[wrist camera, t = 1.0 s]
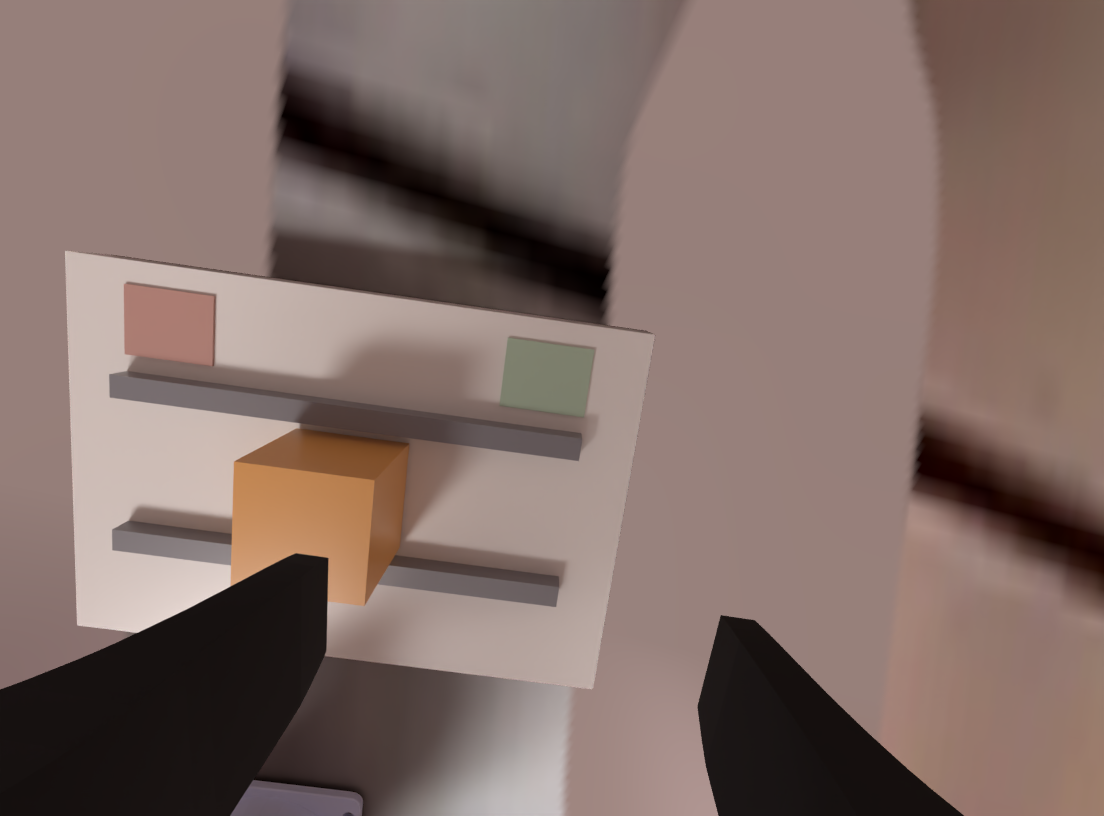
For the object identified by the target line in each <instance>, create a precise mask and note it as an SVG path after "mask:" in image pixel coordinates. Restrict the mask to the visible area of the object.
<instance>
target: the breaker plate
mask: <svg viewBox="0 0 1104 816" xmlns="http://www.w3.org/2000/svg"><path fill="white" fill-rule="evenodd" d="M65 264H66V293H67V294H66V295H67V323H68V324H67V326H68V356H69V386H70V387H69V388H70V416H71V417H70V418H71V447H72V478H73V479H72V480H73V510H74V539H75V540H74V541H75V568H76V569H75V570H76V571H75V572H76V601H77V625H80V626H87V627H96V628H103V629H111V630H119V631H127V632H135V633H138V632H140V631H142V630H144V629H146V628H149V627H151V626H153V625H155V624H157V623H159V622H161V621H163V620H165V619H167V618H170V617H172V616H174V615H176V614H178V613H180V612H182V611H184V610H186V609H188V608H190V607H192V606H194V605H196V604H198V603H200V602H202V601H204V600H205V599H207V598H209V597H211V596H213V595H215V594H217V593H219V592H221V591H223V590H225V589H227V588H228V587H230V583H231V547H232V511H233V475H234V461H236V460H238V459H240V458H241V457H243V456H245V455H247V454H249V453H251V452H253V451H255V450H256V449H258V448H260V447H262V446H264V445H266V444H268V443H270V442H272V441H273V440H275V439H277V438H279V437H281V436H283V435H285V434H287V433H289V432H290V431H292V430H294V429H296V428H299V429H306V430H314V431H321V432H329V433H336V434H343V435H351V436H358V437H365V438H373V439H380V440H388V441H395V442H402V443H409V454H408V465H407V476H406V486H405V497H404V508H403V519H402V530H401V540H400V548H399V549H398V551H397V553H396V554H395V556H394V558H393V559H392V561H391V563H390V564H389V566H388V568H387V569H386V571H385V573H384V574H383V576H382V578H381V579H380V581H379V583H378V584H377V586H376V588H375V589H374V591H373V593H372V594H371V596H370V598H369V599H368V601H367V603H366V604H365V606H359V605H351V604H344V603H336V602H328V606H327V650H326V653H325V656H328V657H336V658H344V659H352V660H360V661H368V662H376V663H384V664H393V665H401V666H409V667H417V668H425V669H433V670H441V671H449V672H457V673H465V674H473V675H481V676H489V677H497V678H505V679H513V680H521V681H529V682H537V683H545V684H553V685H561V686H569V687H577V688H585V689H593V685H594V679H595V673H596V668H597V662H598V657H599V651H600V645H601V639H602V634H603V628H604V623H605V617H606V611H607V605H608V600H609V594H610V589H611V583H612V577H613V572H614V566H615V560H616V554H617V549H618V543H619V538H620V531H621V526H622V520H623V515H624V510H625V504H626V498H627V492H628V487H629V481H630V475H631V470H632V464H633V458H634V453H635V447H636V441H637V436H638V430H639V424H640V419H641V413H642V407H643V402H644V396H645V391H646V385H647V379H648V373H649V368H650V362H651V357H652V351H653V345H654V340H655V334H652V333H650V332H647V331H643V330H636V329H629V328H622V327H615V326H608V325H601V324H594V323H587V322H580V321H573V320H566V319H559V318H552V317H545V316H538V315H531V314H524V313H517V312H510V311H503V310H496V309H489V308H482V307H475V306H468V305H461V304H454V303H447V302H440V301H433V300H426V299H419V298H412V297H405V296H398V295H391V294H384V293H376V292H369V291H362V290H355V289H348V288H341V287H334V286H327V285H320V284H313V283H306V282H299V281H292V280H285V279H278V278H271V277H264V276H257V275H250V274H243V273H236V272H229V271H222V270H215V269H208V268H201V267H193V266H187V265H180V264H173V263H166V262H158V261H152V260H145V259H138V258H131V257H124V256H117V255H108V254H97V253H85V252H74V251H65Z"/></svg>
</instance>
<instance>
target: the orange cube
mask: <svg viewBox="0 0 1104 816" xmlns="http://www.w3.org/2000/svg"><path fill="white" fill-rule="evenodd" d="M408 454H409V443H402V442H395V441H388V440H380V439H373V438H365V437H358V436H351V435H343V434H336V433H329V432H321V431H314V430H306V429H299V428H296V429H294V430H292V431H290V432H289V433H287V434H285V435H283V436H281V437H279V438H277V439H275V440H273V441H272V442H270V443H268V444H266V445H264V446H262V447H260V448H258V449H256V450H255V451H253V452H251V453H249V454H247V455H245V456H243V457H241V458H240V459H238V460H236V461H234V475H233V511H232V547H231V583H230V586H232V585H234V584H236V583H238V582H240V581H242V580H244V579H246V578H247V577H249V576H251V575H253V574H255V573H257V572H259V571H261V570H263V569H264V568H266V567H268V566H270V565H272V564H274V563H276V562H278V561H280V560H282V559H284V558H286V557H288V556H291V555H293V554H295V553H299V554H305V555H312V556H319V557H326V558H329V561H328V602H336V603H344V604H351V605H359V606H365V604H366V603H367V601H368V599H369V598H370V596H371V594H372V593H373V591H374V589H375V588H376V586H377V584H378V583H379V581H380V579H381V578H382V576H383V574H384V573H385V571H386V569H387V568H388V566H389V564H390V563H391V561H392V559H393V558H394V556H395V554H396V553H397V551H398V549H399V548H400V540H401V530H402V519H403V508H404V497H405V486H406V476H407V465H408Z"/></svg>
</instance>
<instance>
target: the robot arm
mask: <svg viewBox="0 0 1104 816" xmlns="http://www.w3.org/2000/svg"><path fill="white" fill-rule="evenodd" d="M328 561H329V558H326V557H319V556H312V555H305V554H299V553H295V554H293V555H291V556H288V557H286V558H284V559H282V560H280V561H278V562H276V563H274V564H272V565H270V566H268V567H266V568H264V569H263V570H261V571H259V572H257V573H255V574H253V575H251V576H249V577H247V578H246V579H244V580H242V581H240V582H238V583H236V584H234V585H232V586H230V587H228V588H227V589H225V590H223V591H221V592H219V593H217V594H215V595H213V596H211V597H209V598H207V599H205V600H204V601H202V602H200V603H198V604H196V605H194V606H192V607H190V608H188V609H186V610H184V611H182V612H180V613H178V614H176V615H174V616H172V617H170V618H167V619H165V620H163V621H161V622H159V623H157V624H155V625H153V626H151V627H149V628H146V629H144V630H142V631H140V632H138V633H136V634H134V635H132V636H130V637H128V638H126V639H123V640H121V641H119V642H117V643H115V644H113V645H110V646H108V647H106V648H104V649H101V650H99V651H97V652H94V653H92V654H90V655H87V656H85V657H83V658H81V659H78V660H76V661H73V662H70V663H68V664H65V665H63V666H60V667H58V668H56V669H53V670H50V671H48V672H45V673H43V674H40V675H38V676H35V677H33V678H30V679H28V680H25V681H22V682H20V683H17V684H14V685H12V686H9V687H6V688H4V689H1V690H0V816H362V808H363V799H362V797H361V796H360V795H359V794H358V793H355V792H351V791H342V790H334V789H325V788H317V787H308V786H300V785H291V784H283V783H274V782H266V781H257V780H253V779H254V778H255V776H256V775H257V773H258V772H259V770H260V769H261V767H262V765H263V764H264V762H265V761H266V759H267V758H268V756H269V755H270V753H271V751H272V750H273V748H274V747H275V745H276V744H277V742H278V740H279V739H280V737H281V736H282V734H283V732H284V731H285V729H286V728H287V726H288V725H289V723H290V721H291V720H292V718H293V717H294V715H295V713H296V712H297V710H298V708H299V707H300V705H301V703H302V701H303V699H304V697H305V695H306V693H307V691H308V689H309V687H310V685H311V683H312V681H313V679H314V677H315V675H316V673H317V671H318V668H319V666H320V664H321V662H322V660H323V658H324V656H325V653H326V650H327V606H328ZM698 714H699V722H700V729H701V737H702V744H703V750H704V757H705V763H706V768H707V772H708V776H709V780H710V784H711V788H712V792H713V796H714V800H715V804H716V807H717V811H718V815H719V816H964V815H962V814H961V813H960V812H959V811H958V810H956V809H955V808H954V807H953V806H951V805H950V804H949V803H948V802H946V801H945V800H944V799H943V798H942V797H940V796H939V795H938V794H937V793H935V792H934V791H933V790H932V789H930V788H929V787H928V786H927V785H926V784H925V783H923V782H922V781H921V780H920V779H919V778H918V777H916V776H915V775H914V774H913V773H912V772H911V771H909V770H908V769H907V768H906V767H905V766H904V765H903V764H902V763H900V762H899V761H898V760H897V759H896V758H895V757H894V756H893V755H892V754H891V753H889V752H888V751H887V750H886V749H885V748H884V747H883V746H882V745H881V744H880V743H878V742H877V741H876V740H875V739H874V738H873V737H872V736H871V735H870V734H868V733H867V732H866V731H865V730H864V729H863V728H862V727H861V726H860V725H859V724H858V723H857V722H856V721H855V720H854V719H853V718H852V717H851V716H850V715H849V714H848V713H847V712H845V710H844V709H843V708H841V707H840V706H839V705H838V704H837V703H836V702H835V701H834V700H833V699H832V698H831V697H830V696H829V695H828V694H827V693H826V692H825V691H824V690H823V689H822V688H821V687H820V686H819V685H818V684H817V683H816V682H815V681H814V680H813V679H812V678H811V676H810V675H809V674H808V673H807V672H806V671H805V670H804V669H803V668H802V667H801V666H800V665H799V664H798V663H797V662H796V661H795V660H794V659H793V658H792V657H791V656H790V655H789V654H788V653H787V652H786V651H785V650H784V649H783V648H782V647H781V646H780V645H779V644H778V643H777V642H776V641H775V640H774V639H773V638H772V637H771V636H770V635H769V634H768V633H767V632H766V631H765V630H764V629H763V628H762V627H761V626H760V625H759V624H758V623H757V622H756V621H755V620H749V619H742V618H735V617H729V616H722V615H721V617H720V621H719V625H718V628H717V633H716V636H715V640H714V644H713V649H712V652H711V656H710V660H709V664H708V668H707V671H706V675H705V679H704V683H703V687H702V691H701V695H700V699H699V703H698ZM348 812H349V813H352V814H349V813H348Z"/></svg>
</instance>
